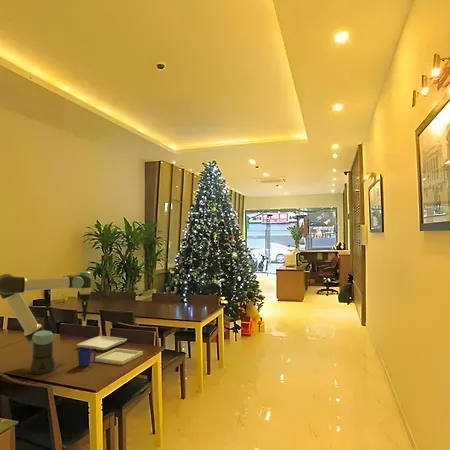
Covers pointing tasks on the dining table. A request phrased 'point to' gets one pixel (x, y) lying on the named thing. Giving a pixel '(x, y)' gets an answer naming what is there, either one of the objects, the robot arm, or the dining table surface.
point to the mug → (85, 356)
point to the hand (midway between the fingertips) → (84, 323)
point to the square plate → (102, 342)
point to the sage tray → (118, 356)
